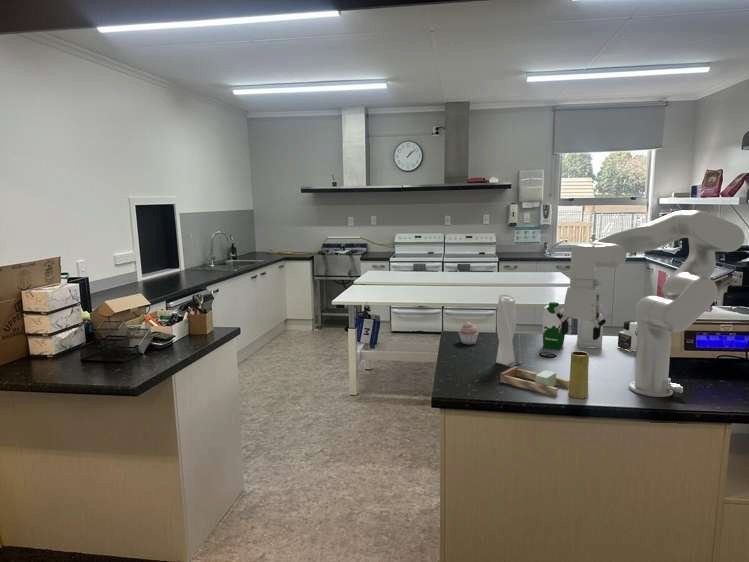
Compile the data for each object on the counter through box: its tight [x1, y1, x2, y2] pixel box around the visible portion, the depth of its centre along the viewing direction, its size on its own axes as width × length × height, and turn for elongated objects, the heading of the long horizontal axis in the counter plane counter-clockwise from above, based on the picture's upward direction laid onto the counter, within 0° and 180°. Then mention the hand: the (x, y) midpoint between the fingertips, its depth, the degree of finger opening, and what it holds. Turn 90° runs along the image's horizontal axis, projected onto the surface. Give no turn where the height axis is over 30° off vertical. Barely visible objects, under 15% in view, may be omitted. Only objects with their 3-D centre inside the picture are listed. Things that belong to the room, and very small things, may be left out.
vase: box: [567, 350, 590, 400], centre depth 157 cm, size 6×6×14 cm
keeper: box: [534, 369, 557, 387], centre depth 165 cm, size 4×7×4 cm, turn 136°
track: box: [499, 365, 570, 397], centre depth 168 cm, size 20×10×3 cm, turn 46°
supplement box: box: [576, 314, 604, 349], centre depth 213 cm, size 9×9×15 cm
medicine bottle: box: [617, 320, 637, 352], centre depth 208 cm, size 7×7×12 cm
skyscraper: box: [495, 294, 522, 368], centre depth 190 cm, size 8×8×28 cm
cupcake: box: [458, 321, 480, 345], centre depth 222 cm, size 9×9×10 cm
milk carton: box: [542, 301, 566, 351], centre depth 212 cm, size 9×9×20 cm
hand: (580, 336), depth 155 cm, fingers open, 9 cm apart
